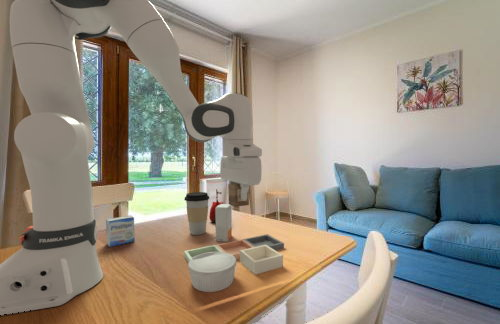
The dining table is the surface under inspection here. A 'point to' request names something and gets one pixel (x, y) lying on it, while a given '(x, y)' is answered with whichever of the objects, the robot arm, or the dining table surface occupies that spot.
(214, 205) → the red clay folk toy
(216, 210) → the skincare box
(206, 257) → the ramekin
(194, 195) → the coffee cup
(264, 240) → the tray far charcoal
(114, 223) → the medicine box
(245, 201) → the tan block
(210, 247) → the tray near sage
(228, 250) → the tray middle terracotta
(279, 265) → the cream square open box
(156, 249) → the dining table surface
